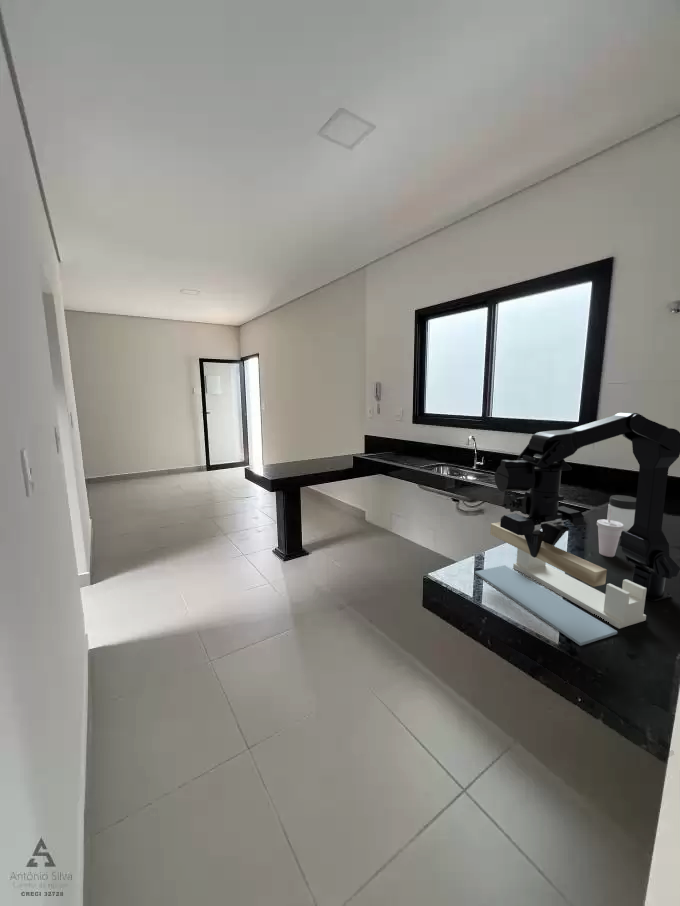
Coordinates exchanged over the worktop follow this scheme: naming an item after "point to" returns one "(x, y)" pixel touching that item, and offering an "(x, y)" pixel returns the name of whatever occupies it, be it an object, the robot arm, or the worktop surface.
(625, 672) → the worktop surface
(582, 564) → the rail
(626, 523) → the jar
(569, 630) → the mat
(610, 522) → the smoothie
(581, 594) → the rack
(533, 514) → the robot arm
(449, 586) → the worktop surface
